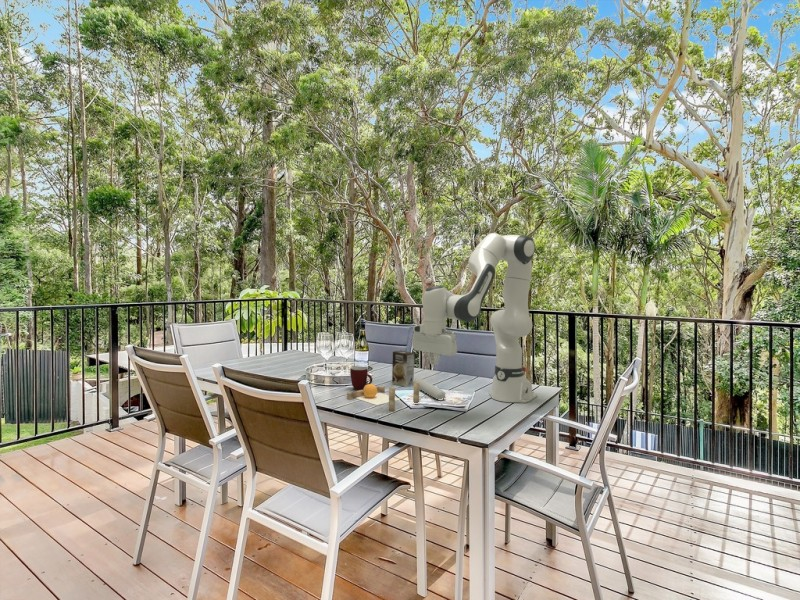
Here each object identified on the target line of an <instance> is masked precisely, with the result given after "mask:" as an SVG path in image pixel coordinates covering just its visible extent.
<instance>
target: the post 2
mask: <svg viewBox="0 0 800 600" xmlns="http://www.w3.org/2000/svg"><path fill="white" fill-rule="evenodd" d="M412 393H413V394H412V397H413V399H412V403H413V402H414V403H418V402H419V403H420V389H419V382H414V381H413V392H412Z"/></svg>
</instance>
